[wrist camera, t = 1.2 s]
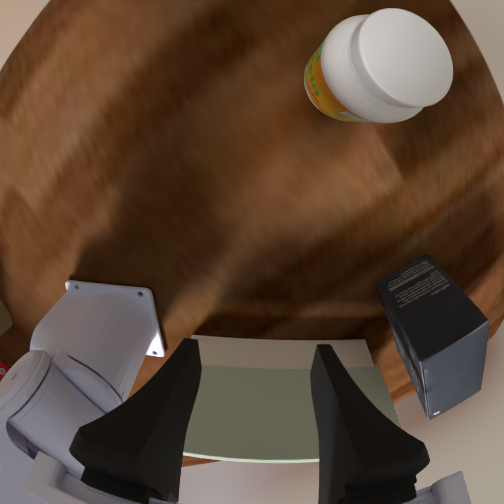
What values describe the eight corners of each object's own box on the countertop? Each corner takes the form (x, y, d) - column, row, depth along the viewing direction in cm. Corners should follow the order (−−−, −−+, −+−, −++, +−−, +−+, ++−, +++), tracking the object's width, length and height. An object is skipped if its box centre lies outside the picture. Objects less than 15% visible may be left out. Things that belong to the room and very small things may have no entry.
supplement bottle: (305, 40, 14) (338, -25, 6) (382, 56, 14) (464, 22, 6) (299, 115, 17) (333, 107, 8) (376, 128, 17) (462, 142, 8)
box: (441, 323, 24) (482, 391, 15) (395, 348, 25) (426, 423, 17) (429, 251, 20) (492, 320, 12) (373, 281, 22) (417, 365, 13)
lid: (155, 449, 14) (153, 446, 14) (181, 366, 21) (180, 361, 21) (403, 448, 13) (406, 445, 13) (377, 369, 21) (378, 365, 20)
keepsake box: (200, 386, 28) (194, 415, 25) (192, 334, 25) (182, 366, 21) (345, 390, 28) (351, 418, 24) (364, 339, 24) (375, 369, 21)
